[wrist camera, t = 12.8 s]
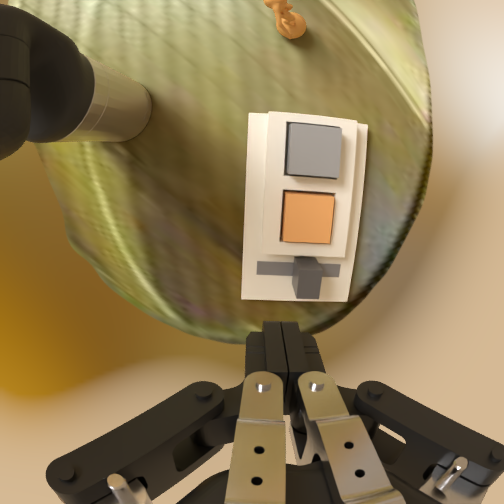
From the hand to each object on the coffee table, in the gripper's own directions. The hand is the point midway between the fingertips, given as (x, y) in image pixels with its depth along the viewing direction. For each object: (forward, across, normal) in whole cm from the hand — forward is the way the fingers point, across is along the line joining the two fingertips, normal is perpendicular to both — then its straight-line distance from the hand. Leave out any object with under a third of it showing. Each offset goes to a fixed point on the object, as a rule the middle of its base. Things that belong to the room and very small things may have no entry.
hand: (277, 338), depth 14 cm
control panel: (+31, -6, 0) cm, 31 cm away
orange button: (+29, -6, 0) cm, 30 cm away
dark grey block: (+29, -7, +8) cm, 31 cm away
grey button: (+28, -6, -8) cm, 30 cm away
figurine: (+31, -2, -26) cm, 41 cm away
